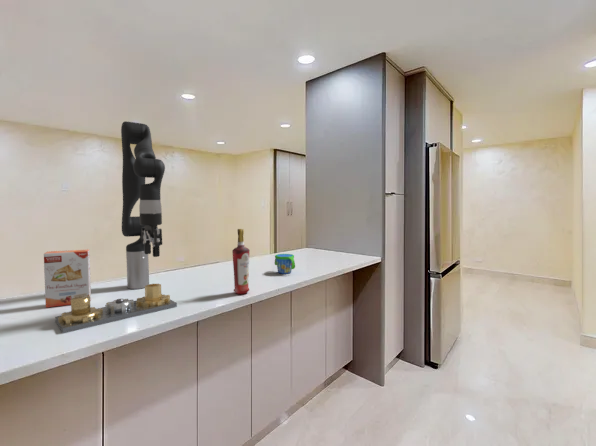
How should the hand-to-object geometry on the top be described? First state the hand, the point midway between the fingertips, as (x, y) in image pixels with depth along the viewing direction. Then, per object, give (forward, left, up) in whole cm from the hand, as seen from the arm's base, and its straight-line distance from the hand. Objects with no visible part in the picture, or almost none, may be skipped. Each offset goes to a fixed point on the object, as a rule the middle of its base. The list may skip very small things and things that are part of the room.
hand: (151, 255), depth 119 cm
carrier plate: (0, -12, -20) cm, 23 cm away
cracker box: (-27, -22, -20) cm, 40 cm away
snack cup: (-8, +75, -20) cm, 78 cm away
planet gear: (0, 0, -18) cm, 18 cm away
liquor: (+9, +34, -20) cm, 40 cm away
